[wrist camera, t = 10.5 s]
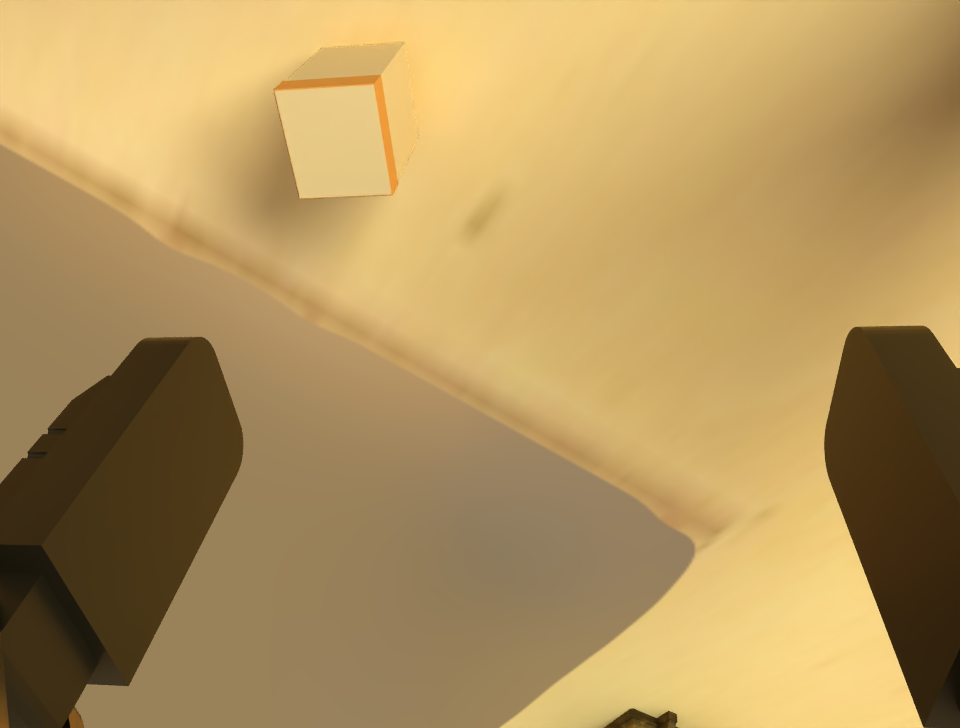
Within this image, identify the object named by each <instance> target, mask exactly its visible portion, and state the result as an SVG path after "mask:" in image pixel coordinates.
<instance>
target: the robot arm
mask: <svg viewBox="0 0 960 728" xmlns="http://www.w3.org/2000/svg"><path fill="white" fill-rule="evenodd" d="M824 451H825V462H826V468H827V472H828V476H829V479H830V482H831V485H832V487H833V490H834V493H835V495H836V498H837V501H838V503H839V506H840V508H841V511H842V514H843V516H844V519H845V522H846V524H847V527H848V530H849V532H850V535H851V537H852V540H853V543H854V545H855V548H856V551H857V553H858V556H859V559H860V561H861V564H862V567H863V569H864V572H865V574H866V577H867V580H868V582H869V585H870V588H871V590H872V593H873V596H874V598H875V601H876V603H877V606H878V609H879V611H880V614H881V617H882V619H883V622H884V625H885V627H886V630H887V632H888V635H889V638H890V640H891V643H892V646H893V648H894V651H895V654H896V656H897V659H898V661H899V664H900V667H901V669H902V672H903V675H904V677H905V680H906V683H907V685H908V688H909V690H910V693H911V696H912V698H913V701H914V704H915V706H916V709H917V712H918V714H919V717H920V719H921V722H922V725H923V727H924V728H960V368H956V367H955V365H954V364H953V362H952V361H951V359H950V358H949V356H948V355H947V353H946V352H945V350H944V349H943V348H942V346H941V345H940V343H939V342H938V340H937V339H936V337H935V336H934V334H933V333H932V332H931V331H930V329H928V328H927V327H925V326H878V327H854V328H853V329H852V330H851V331H850V332H849V334H848V336H847V338H846V341H845V345H844V349H843V353H842V358H841V362H840V366H839V371H838V375H837V380H836V384H835V389H834V393H833V397H832V402H831V406H830V411H829V415H828V419H827V424H826V429H825V440H824ZM242 455H243V434H242V428H241V425H240V422H239V419H238V416H237V414H236V411H235V408H234V405H233V402H232V399H231V396H230V393H229V390H228V388H227V385H226V382H225V379H224V376H223V373H222V370H221V368H220V365H219V362H218V359H217V356H216V354H215V351H214V349H213V347H212V346H211V344H210V343H209V341H208V340H206V339H205V338H203V337H165V338H146V339H143V340H141V341H140V342H139V343H138V344H137V345H136V346H135V347H134V349H133V350H132V351H131V352H130V354H129V355H128V356H127V357H126V358H125V360H124V361H123V362H122V363H121V365H120V366H119V367H118V368H117V370H116V371H115V372H114V373H113V374H112V375H111V376H106V377H105V378H103V379H102V380H100V381H99V382H98V383H96V384H95V385H93V386H92V387H90V388H89V389H88V390H86V391H85V392H83V393H82V394H80V395H79V396H77V397H76V398H75V399H73V400H72V401H71V402H70V403H69V404H68V405H67V407H66V408H65V409H64V410H63V411H62V413H61V414H60V415H59V416H58V417H57V418H56V420H55V421H54V422H53V423H52V424H51V425H50V427H49V428H48V434H43V435H42V436H41V437H40V438H39V439H38V441H37V442H36V443H35V444H34V445H33V446H32V448H31V449H30V450H29V451H28V458H22V459H21V461H20V462H19V463H18V464H17V465H16V466H15V467H14V468H13V470H12V471H11V472H10V473H9V474H8V475H7V477H6V478H5V479H4V480H3V481H2V482H1V484H0V728H84V725H83V721H82V718H81V715H80V714H79V712H78V711H77V709H76V708H75V704H76V702H77V700H78V699H79V697H80V695H81V694H82V692H83V690H84V688H85V686H86V685H87V684H97V685H118V686H129V684H130V682H131V680H132V678H133V676H134V674H135V672H136V670H137V668H138V667H139V664H140V662H141V661H142V659H143V657H144V655H145V653H146V651H147V649H148V647H149V645H150V643H151V641H152V639H153V637H154V635H155V633H156V631H157V629H158V627H159V625H160V624H161V621H162V619H163V618H164V616H165V614H166V612H167V610H168V608H169V606H170V604H171V602H172V600H173V598H174V596H175V594H176V592H177V590H178V588H179V587H180V585H181V583H182V581H183V579H184V577H185V575H186V573H187V571H188V569H189V567H190V565H191V563H192V561H193V559H194V557H195V555H196V553H197V551H198V549H199V547H200V545H201V544H202V542H203V540H204V538H205V535H206V534H207V532H208V530H209V528H210V526H211V524H212V522H213V520H214V518H215V516H216V514H217V512H218V510H219V508H220V506H221V504H222V503H223V501H224V499H225V497H226V494H227V493H228V491H229V489H230V487H231V484H232V483H233V481H234V479H235V477H236V475H237V473H238V471H239V468H240V465H241V461H242Z"/></svg>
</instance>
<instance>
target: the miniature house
mask: <svg viewBox="0 0 960 728" xmlns="http://www.w3.org/2000/svg"><path fill="white" fill-rule="evenodd" d="M676 723H677V714H675V713H673V712H670V711H668V712H666V713H665V714H663V715H662V716H660V717H659V718H654V717H652V716H650V715H647V714H645V713H643V712H640V711H638V710H636V709H630V710H628V711H627V712H625V713H624V714H623V715H621V716H620V717H618V718H617V719H616V720H614V721H613V722H611V723H610V724H609V725H607V726H606V727H605V728H678V727H675V725H676Z"/></svg>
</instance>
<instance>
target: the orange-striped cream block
mask: <svg viewBox="0 0 960 728" xmlns="http://www.w3.org/2000/svg"><path fill="white" fill-rule="evenodd" d="M274 94H275V99H276V103H277V107H278V111H279V115H280V119H281V124H282V128H283V132H284V136H285V140H286V145H287V149H288V153H289V157H290V161H291V166H292V170H293V174H294V178H295V182H296V186H297V191H298V195H299V199H315V198H338V197H361V196H385V195H393V194H394V192H395V190H396V188H397V186H398V180H399V178H400V176H401V173H402V171H403V169H404V167H405V165H406V163H407V161H408V159H409V157H410V155H411V153H412V151H413V149H414V147H415V144H416V142H417V140H418V138H419V137H418V130H417V123H416V115H415V108H414V101H413V93H412V86H411V79H410V71H409V64H408V57H407V49H406V42H395V43H381V44H367V45H353V46H338V47H324V48H321V49H320V50H319V51H317V52H316V53H315V54H314V55H313V56H312V57H311V58H310V59H309V60H308V61H307V62H306V63H305V64H303V65H302V66H301V67H300V68H299V69H298V70H297V71H296V72H295V73H294V74H293V75H292V76H290V77H289V78H288V79H287V80H286V81H282V82H281V83H280V84H279V85H278V86H277V87H276V88H275V89H274Z"/></svg>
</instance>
